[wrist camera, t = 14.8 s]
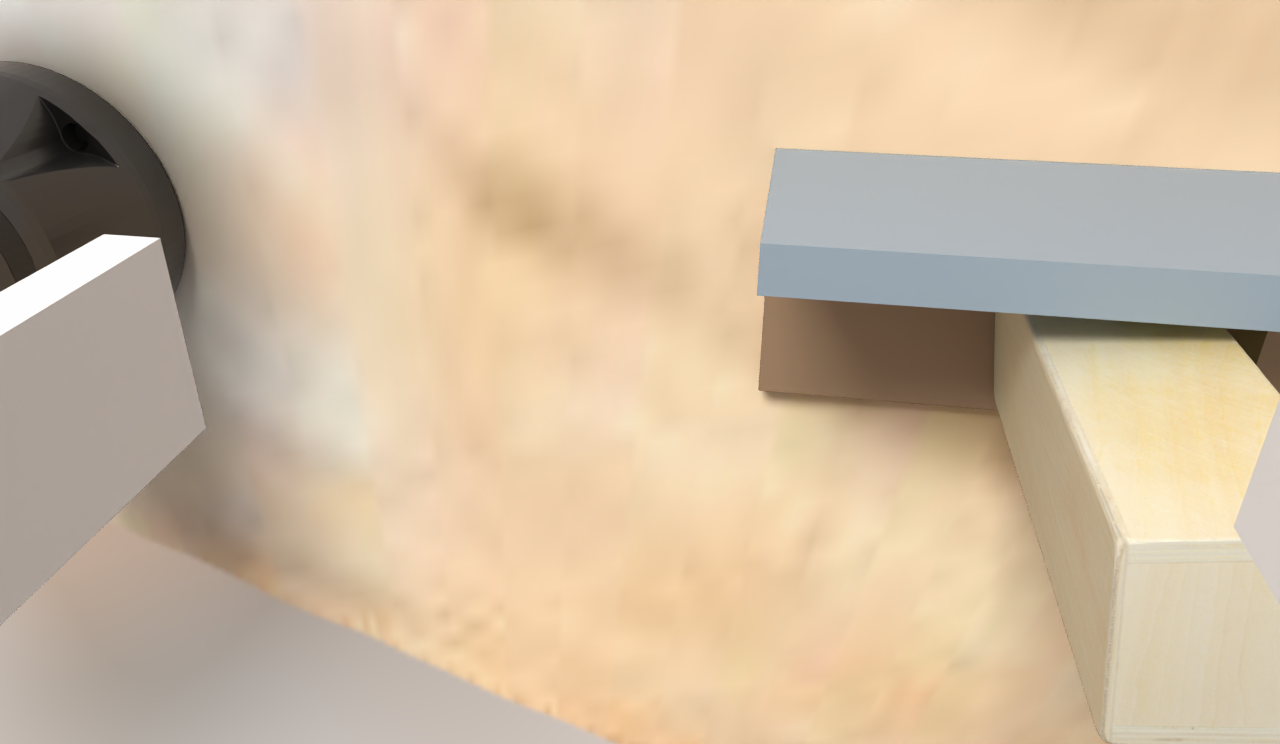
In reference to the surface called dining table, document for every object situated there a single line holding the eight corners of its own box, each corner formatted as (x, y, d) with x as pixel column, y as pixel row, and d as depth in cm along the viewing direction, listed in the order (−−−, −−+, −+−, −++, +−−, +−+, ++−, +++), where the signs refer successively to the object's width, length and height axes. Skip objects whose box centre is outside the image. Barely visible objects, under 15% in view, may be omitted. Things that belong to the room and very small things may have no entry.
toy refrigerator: (1157, 393, 47) (1369, 755, 28) (992, 400, 48) (1093, 747, 30) (1174, 233, 43) (1430, 529, 25) (995, 246, 44) (1111, 534, 26)
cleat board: (759, 379, 51) (742, 519, 41) (775, 148, 45) (760, 243, 35) (1218, 416, 48) (1326, 578, 37) (1297, 173, 42) (1452, 286, 32)
